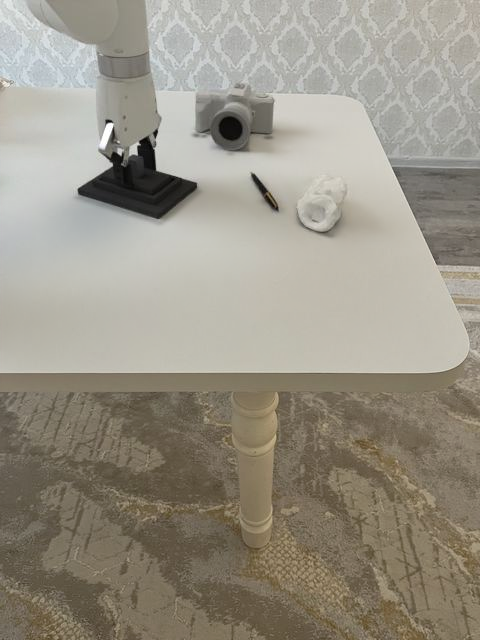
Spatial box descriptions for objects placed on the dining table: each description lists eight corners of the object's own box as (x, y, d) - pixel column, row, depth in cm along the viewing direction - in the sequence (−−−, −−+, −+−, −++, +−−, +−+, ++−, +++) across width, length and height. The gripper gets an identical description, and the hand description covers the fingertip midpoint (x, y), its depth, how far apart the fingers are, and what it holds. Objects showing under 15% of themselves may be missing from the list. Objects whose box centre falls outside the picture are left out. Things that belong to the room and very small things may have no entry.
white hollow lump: (318, 194, 103) (351, 161, 97) (336, 251, 98) (373, 220, 92) (280, 181, 97) (313, 146, 92) (298, 240, 93) (334, 208, 87)
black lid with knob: (101, 181, 99) (98, 157, 96) (123, 167, 103) (120, 144, 100) (151, 196, 96) (149, 172, 93) (172, 181, 100) (170, 157, 97)
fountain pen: (247, 175, 107) (247, 167, 106) (253, 174, 107) (253, 166, 106) (274, 214, 97) (275, 206, 96) (281, 213, 97) (281, 205, 96)
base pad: (78, 194, 99) (75, 181, 97) (121, 166, 107) (119, 154, 105) (158, 219, 94) (157, 206, 93) (197, 188, 102) (197, 176, 101)
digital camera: (183, 160, 118) (168, 110, 111) (209, 131, 127) (197, 83, 121) (260, 157, 112) (250, 104, 105) (282, 126, 121) (274, 76, 115)
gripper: (137, 44, 93) (146, 153, 106) (64, 74, 82) (85, 193, 94) (177, 53, 91) (182, 163, 103) (109, 85, 80) (124, 205, 92)
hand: (136, 177), depth 99 cm, fingers closed on black lid with knob, 6 cm apart
